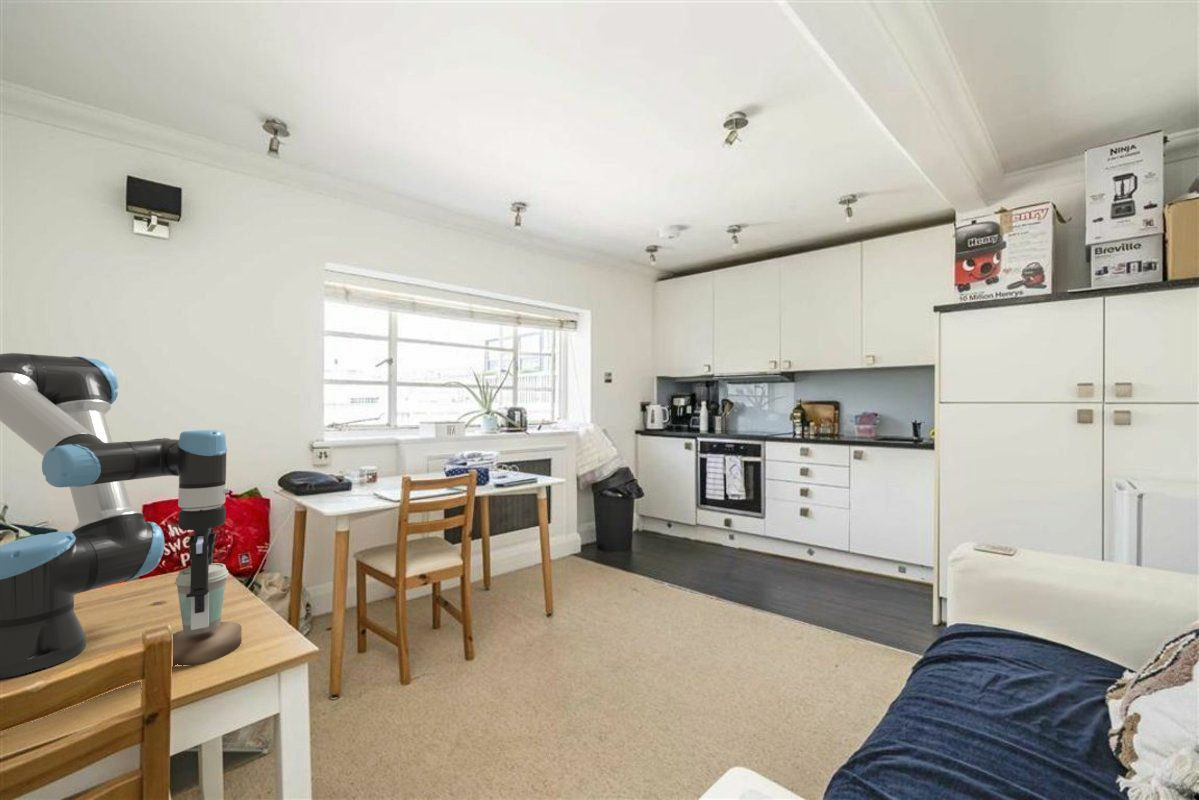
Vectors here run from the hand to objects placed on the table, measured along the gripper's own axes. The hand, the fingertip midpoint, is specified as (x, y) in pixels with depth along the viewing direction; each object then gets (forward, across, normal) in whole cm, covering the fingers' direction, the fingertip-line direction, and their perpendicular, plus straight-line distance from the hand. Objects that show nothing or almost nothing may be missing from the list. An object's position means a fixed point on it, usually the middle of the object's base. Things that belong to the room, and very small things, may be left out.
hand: (202, 619), depth 103 cm
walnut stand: (+6, 0, 0) cm, 6 cm away
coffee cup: (+2, 0, 0) cm, 2 cm away
